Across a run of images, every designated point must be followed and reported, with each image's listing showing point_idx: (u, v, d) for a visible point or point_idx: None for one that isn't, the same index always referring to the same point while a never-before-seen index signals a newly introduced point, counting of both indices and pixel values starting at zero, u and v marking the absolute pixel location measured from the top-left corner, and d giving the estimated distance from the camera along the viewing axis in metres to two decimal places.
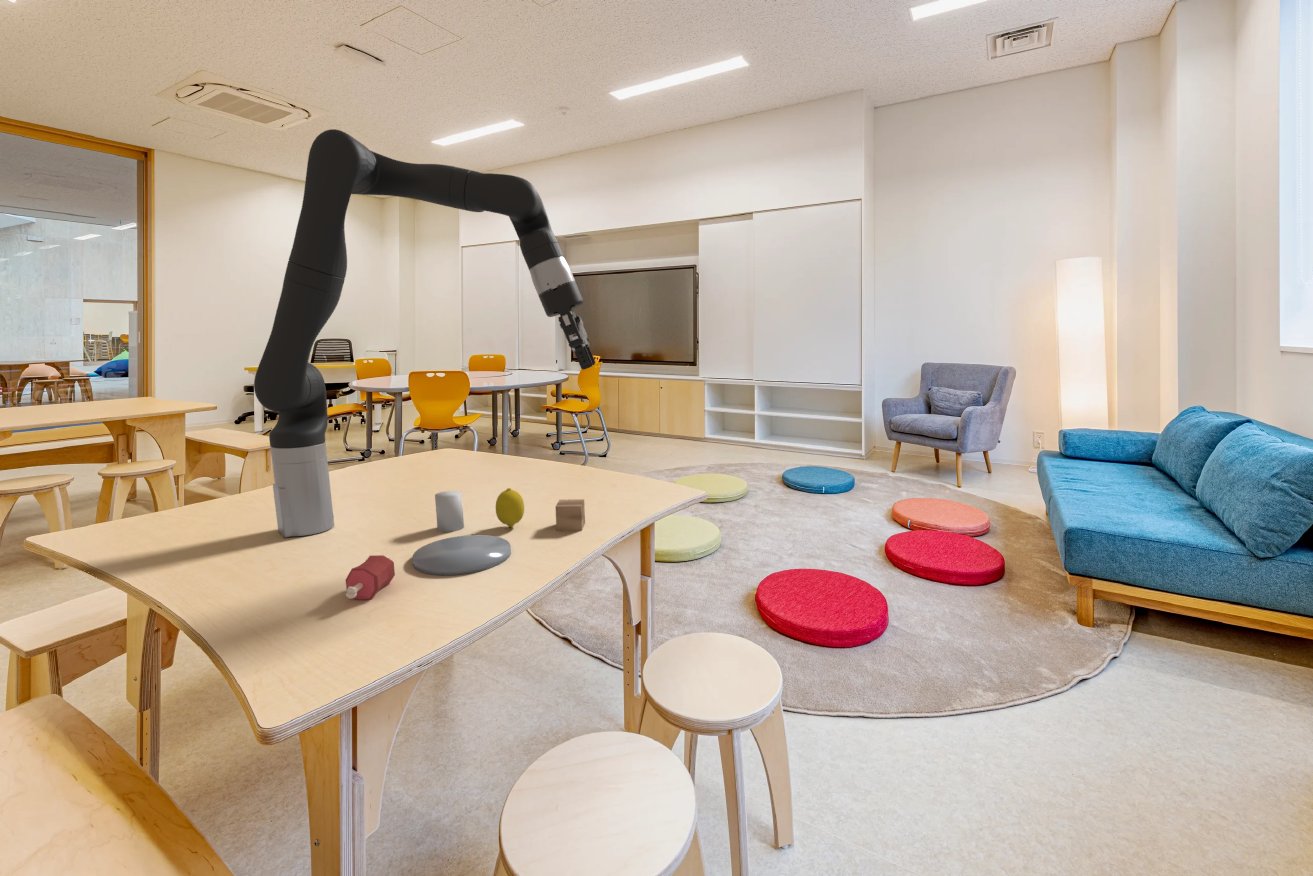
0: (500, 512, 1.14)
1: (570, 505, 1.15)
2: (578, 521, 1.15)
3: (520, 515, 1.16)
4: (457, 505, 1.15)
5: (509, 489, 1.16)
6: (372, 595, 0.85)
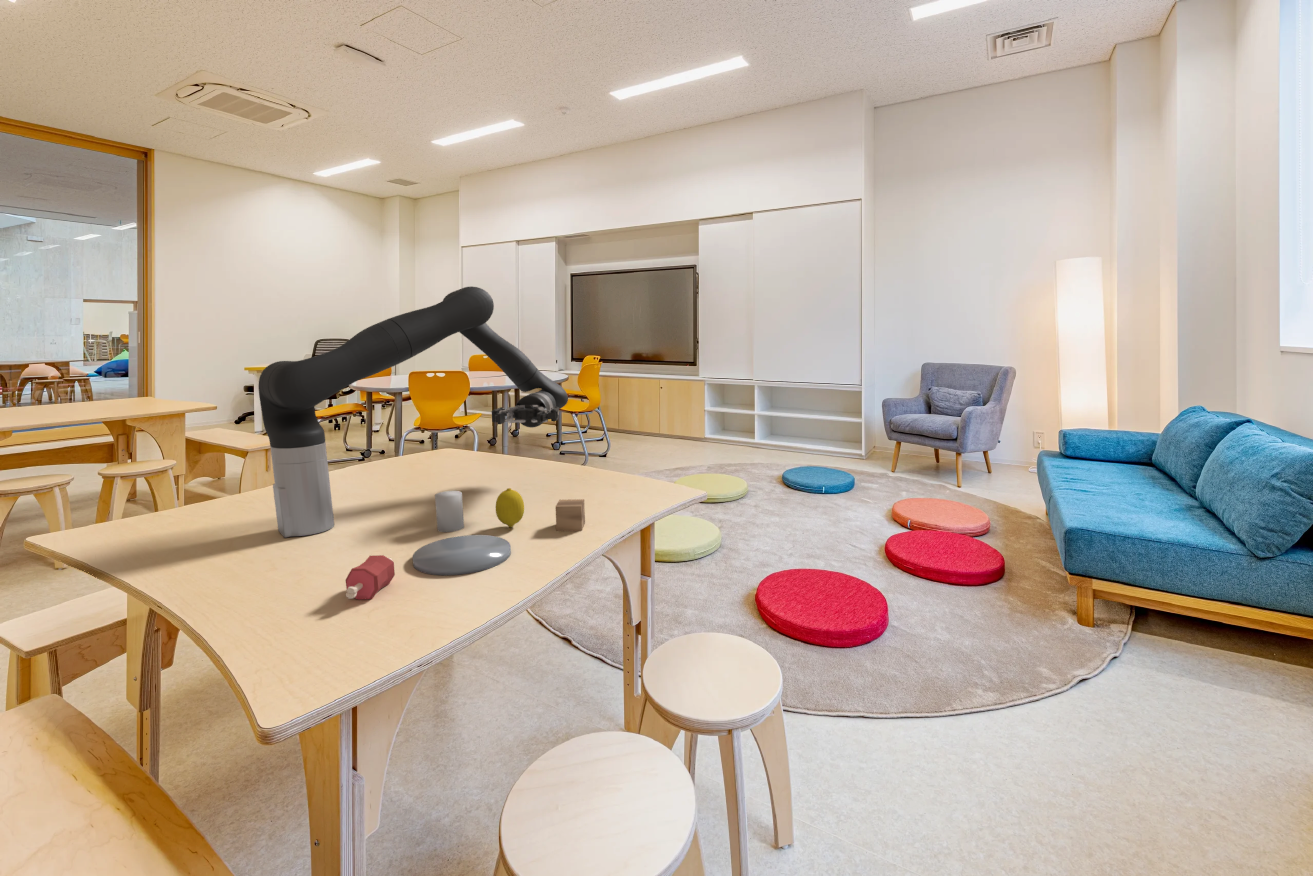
0: (500, 512, 1.14)
1: (570, 505, 1.15)
2: (578, 521, 1.15)
3: (520, 515, 1.16)
4: (457, 505, 1.15)
5: (509, 489, 1.16)
6: (372, 595, 0.85)
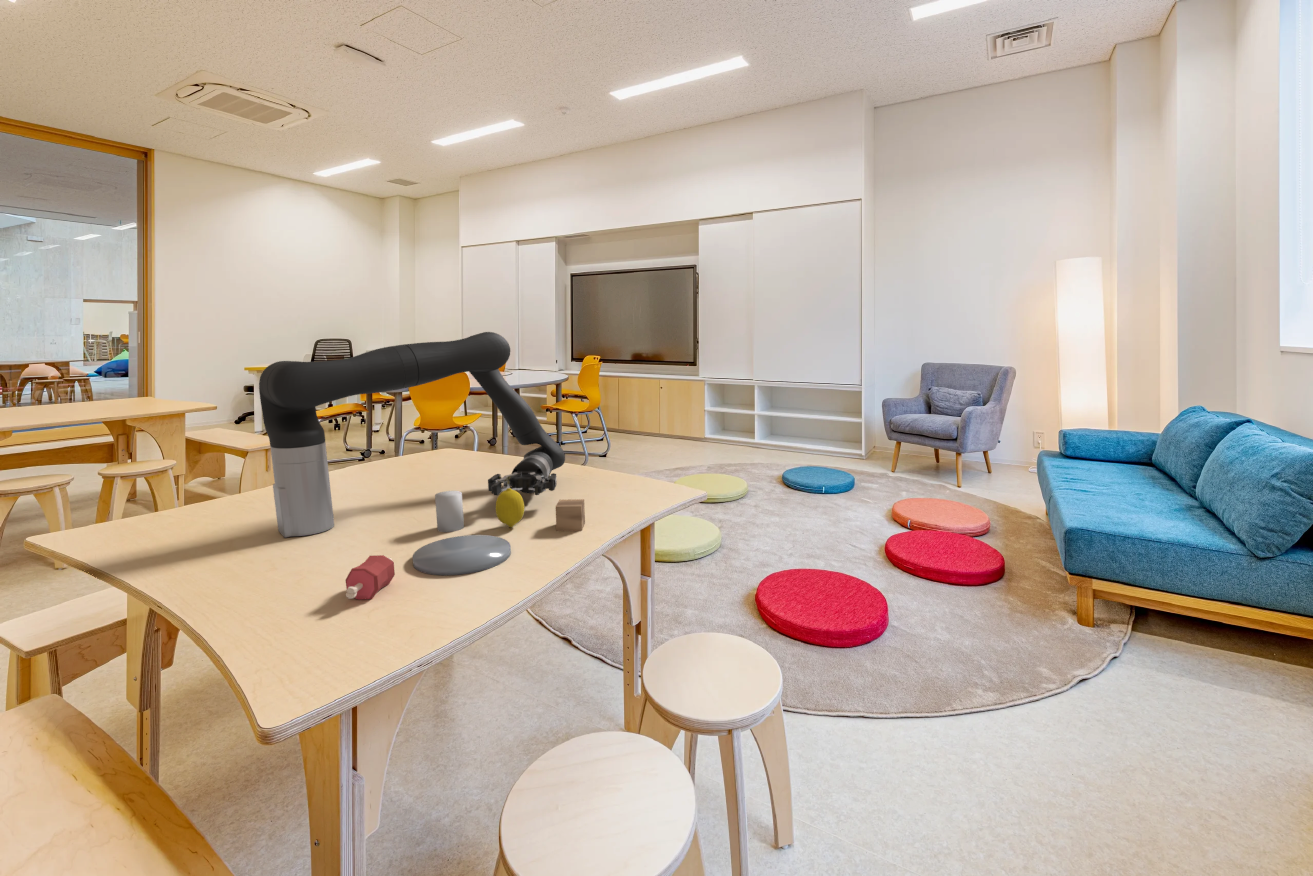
0: (500, 512, 1.14)
1: (570, 505, 1.15)
2: (578, 521, 1.15)
3: (520, 515, 1.16)
4: (457, 505, 1.15)
5: (509, 489, 1.16)
6: (372, 595, 0.85)
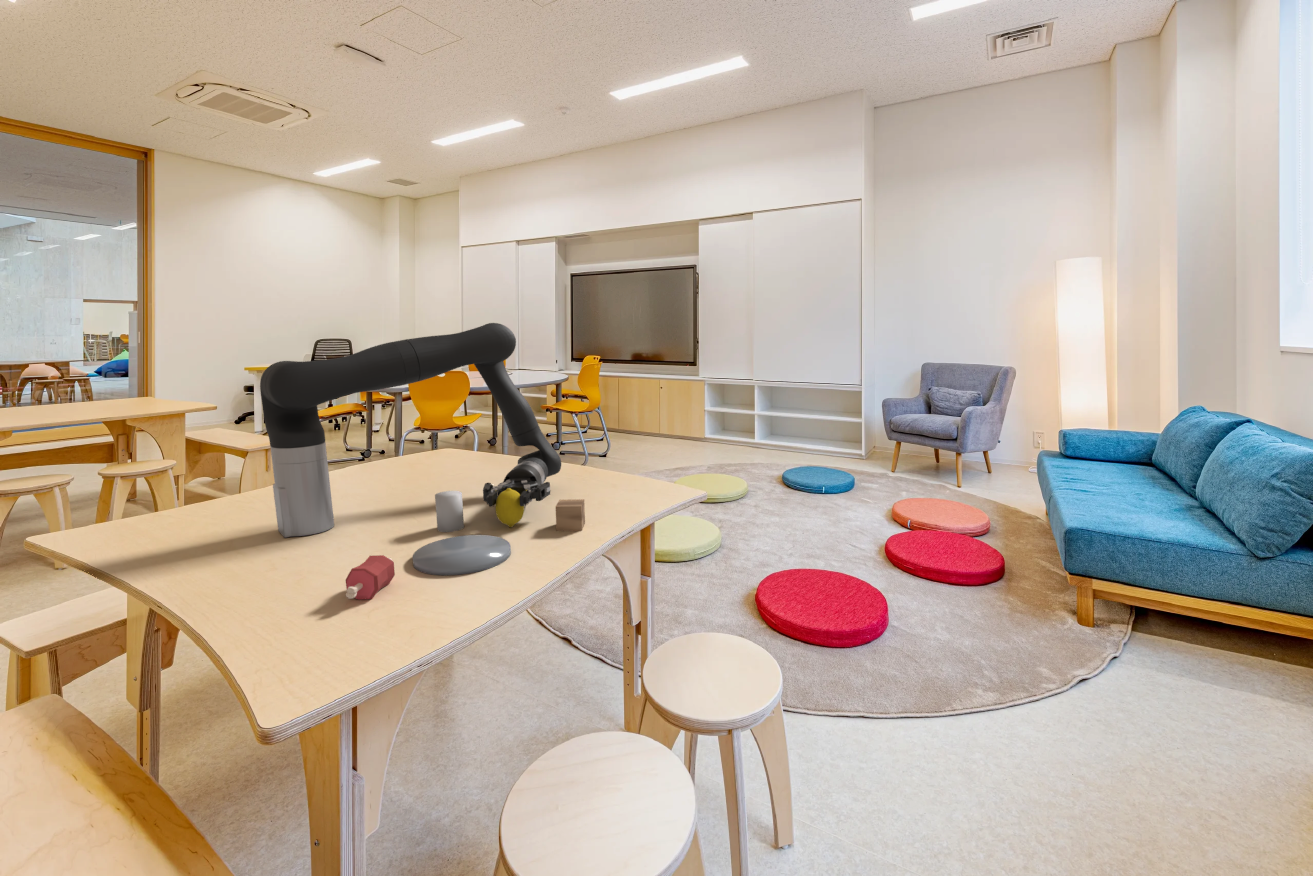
0: (500, 512, 1.14)
1: (570, 505, 1.15)
2: (578, 521, 1.15)
3: (520, 514, 1.16)
4: (457, 505, 1.15)
5: (509, 489, 1.16)
6: (372, 595, 0.85)
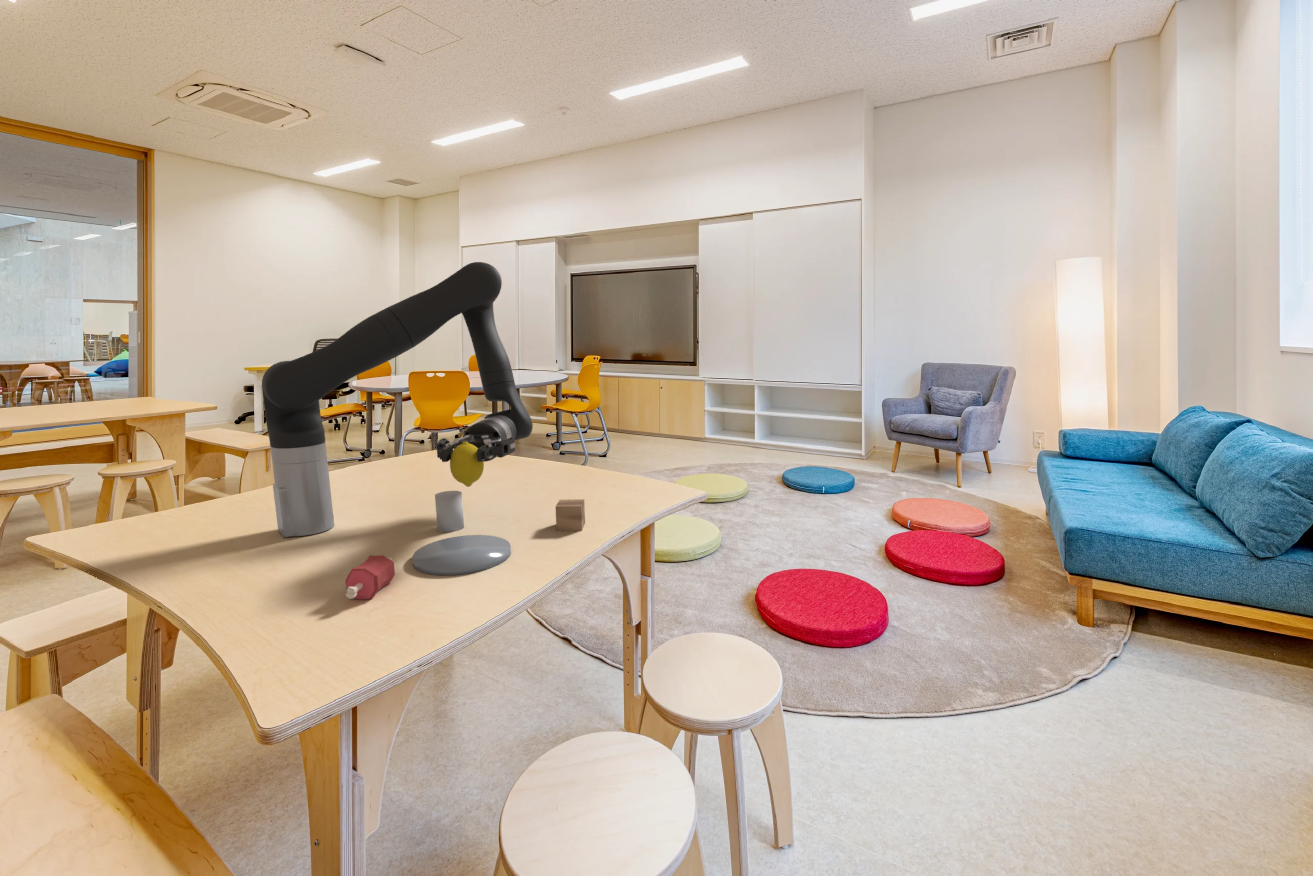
0: (455, 468, 0.99)
1: (570, 505, 1.15)
2: (578, 521, 1.15)
3: (479, 472, 1.01)
4: (457, 505, 1.15)
5: (465, 442, 1.01)
6: (372, 595, 0.85)
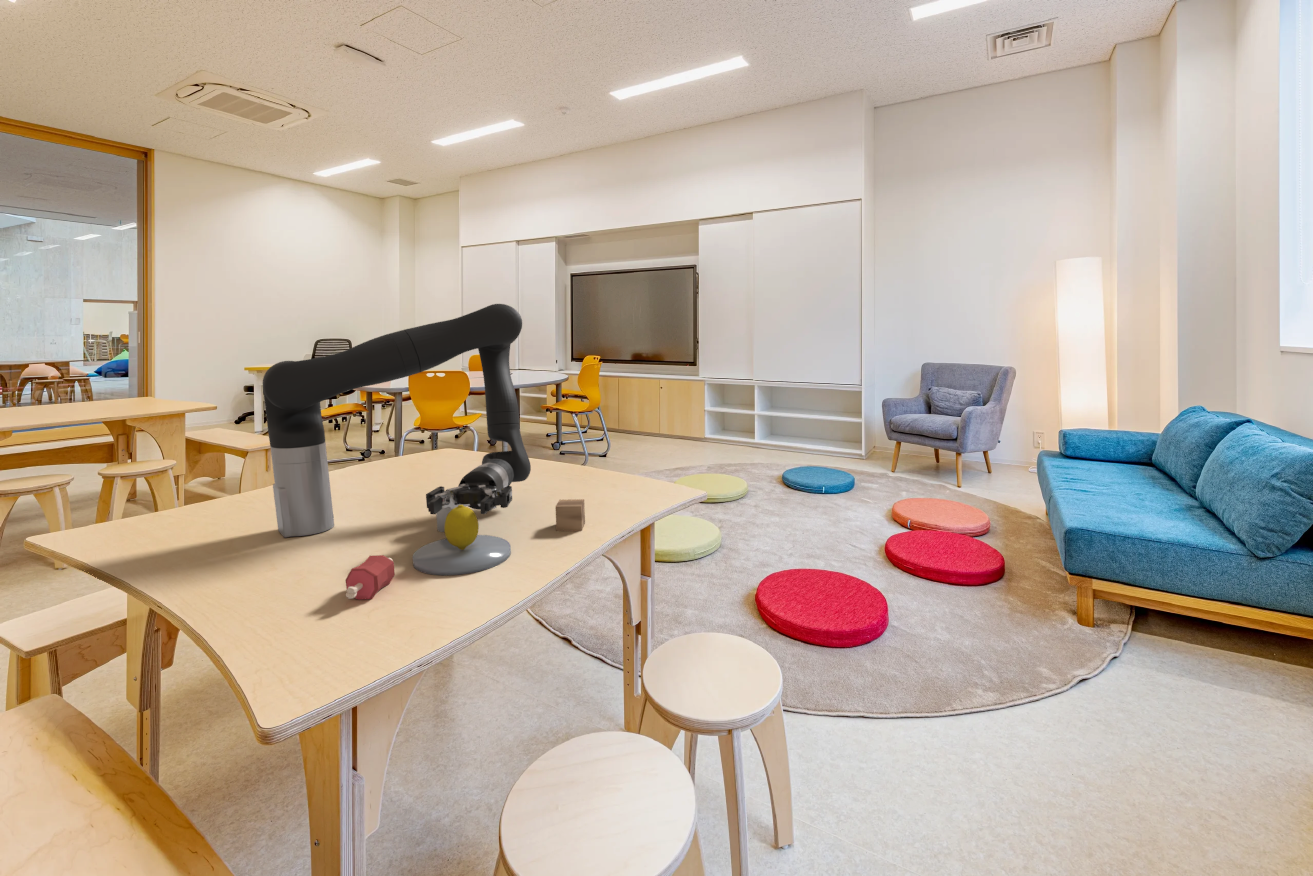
0: (449, 532, 0.98)
1: (570, 505, 1.15)
2: (578, 521, 1.15)
3: (473, 536, 1.00)
4: None
5: (461, 506, 1.00)
6: (372, 595, 0.85)
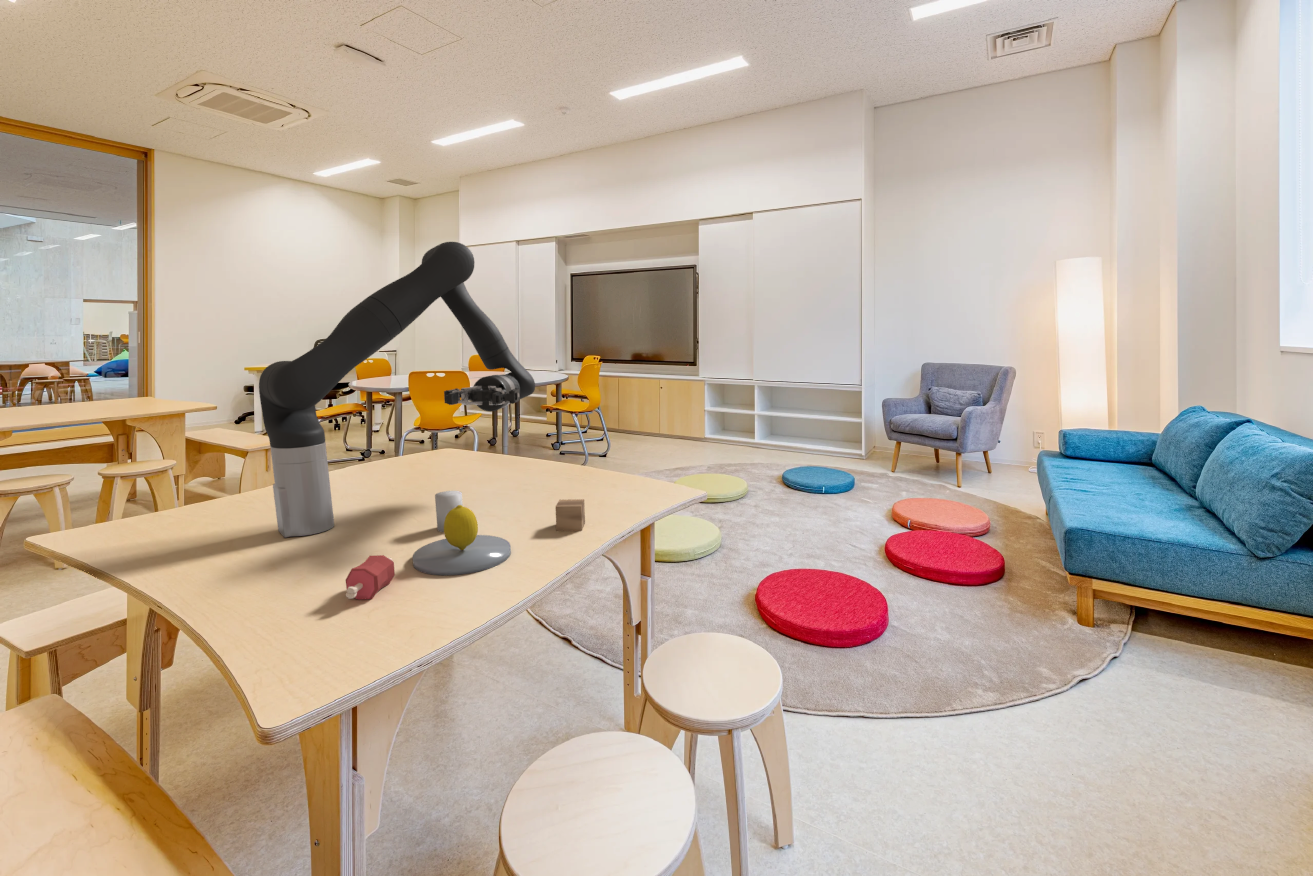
0: (448, 533, 0.98)
1: (570, 505, 1.15)
2: (578, 521, 1.15)
3: (472, 536, 1.00)
4: (457, 505, 1.15)
5: (459, 506, 1.00)
6: (372, 595, 0.85)
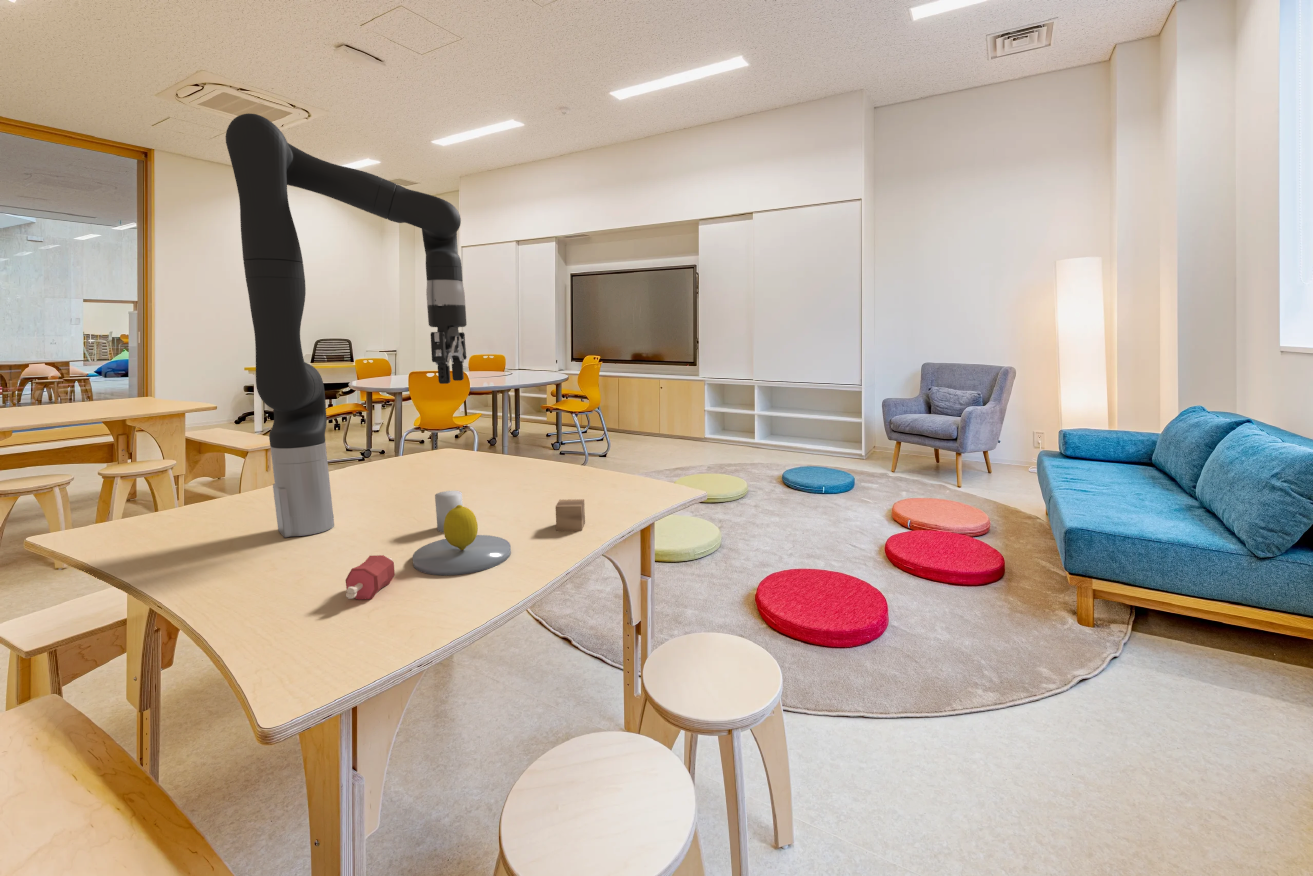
0: (448, 532, 0.98)
1: (570, 505, 1.15)
2: (578, 521, 1.15)
3: (472, 536, 1.00)
4: None
5: (459, 506, 1.00)
6: (372, 595, 0.85)
